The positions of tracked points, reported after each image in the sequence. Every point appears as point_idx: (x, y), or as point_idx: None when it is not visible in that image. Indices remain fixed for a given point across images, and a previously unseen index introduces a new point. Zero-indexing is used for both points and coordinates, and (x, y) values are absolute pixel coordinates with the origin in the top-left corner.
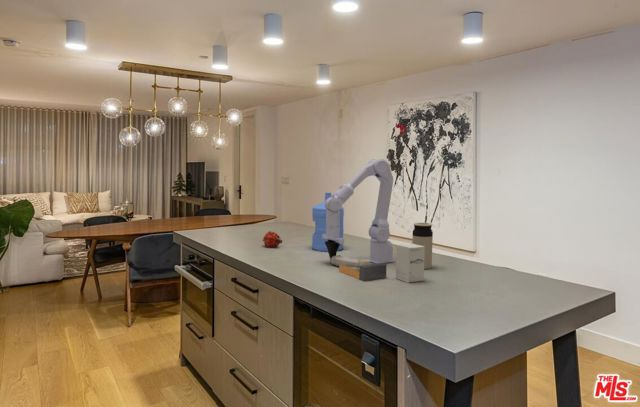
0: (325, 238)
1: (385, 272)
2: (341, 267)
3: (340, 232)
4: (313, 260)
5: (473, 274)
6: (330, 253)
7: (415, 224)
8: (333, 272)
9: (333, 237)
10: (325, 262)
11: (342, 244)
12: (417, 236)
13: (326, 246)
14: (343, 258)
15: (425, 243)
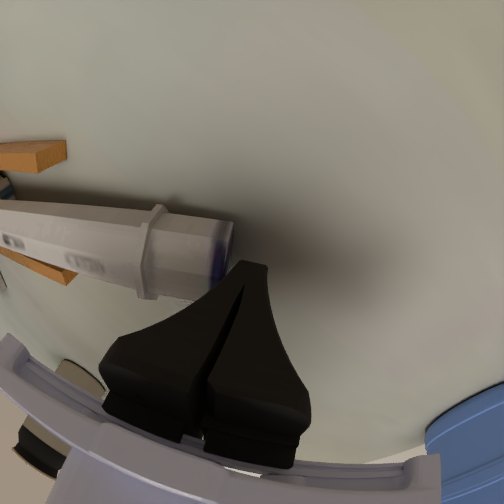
0: (112, 436)
1: None
2: (29, 149)
3: None
4: (458, 234)
5: None
6: (222, 284)
7: (21, 459)
8: (59, 95)
9: (73, 448)
10: (341, 249)
11: (426, 450)
12: (27, 428)
13: (475, 415)
14: (49, 234)
15: None
